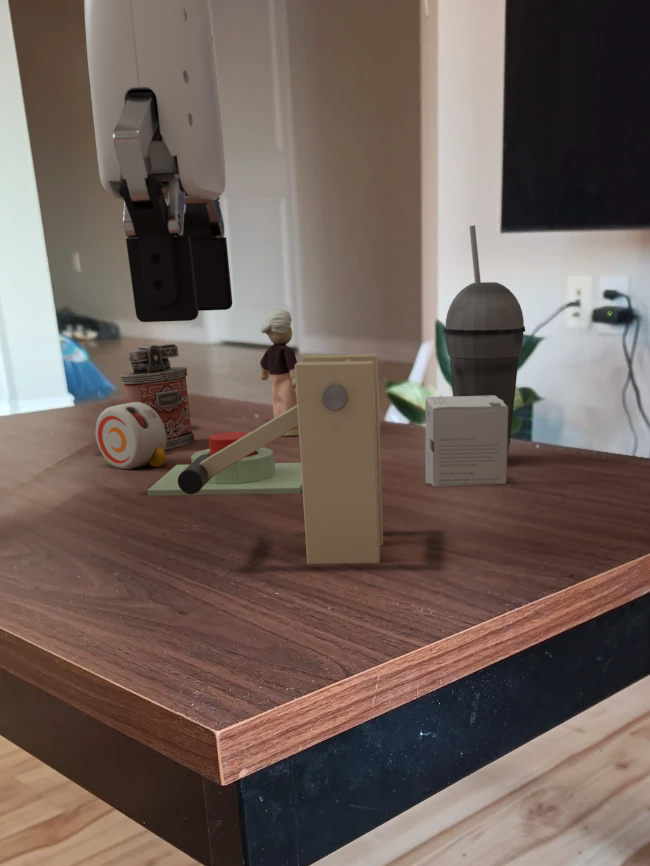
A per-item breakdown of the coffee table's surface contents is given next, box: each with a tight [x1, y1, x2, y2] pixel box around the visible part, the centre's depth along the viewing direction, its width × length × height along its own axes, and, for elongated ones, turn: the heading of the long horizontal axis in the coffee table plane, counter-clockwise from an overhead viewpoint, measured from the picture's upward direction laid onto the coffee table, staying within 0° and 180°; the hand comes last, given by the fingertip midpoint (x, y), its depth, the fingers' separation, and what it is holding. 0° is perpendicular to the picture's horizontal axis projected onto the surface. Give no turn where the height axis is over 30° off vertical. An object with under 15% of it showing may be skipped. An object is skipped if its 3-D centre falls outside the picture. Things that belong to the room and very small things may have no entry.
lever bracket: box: [295, 353, 384, 565], centre depth 62 cm, size 11×8×13 cm
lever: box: [178, 359, 352, 494], centre depth 62 cm, size 12×5×2 cm, turn 89°
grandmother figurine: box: [259, 308, 299, 437], centre depth 111 cm, size 8×4×13 cm, turn 49°
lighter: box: [120, 343, 195, 450], centre depth 105 cm, size 8×3×10 cm, turn 147°
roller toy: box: [95, 402, 167, 471], centre depth 97 cm, size 4×6×6 cm
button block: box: [146, 446, 303, 497], centre depth 85 cm, size 12×10×4 cm
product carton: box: [424, 395, 508, 487], centre depth 83 cm, size 6×6×7 cm
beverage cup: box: [443, 224, 526, 455], centre depth 92 cm, size 7×7×20 cm
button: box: [208, 431, 255, 457], centre depth 84 cm, size 4×4×2 cm
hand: (188, 315), depth 59 cm, fingers open, 9 cm apart
